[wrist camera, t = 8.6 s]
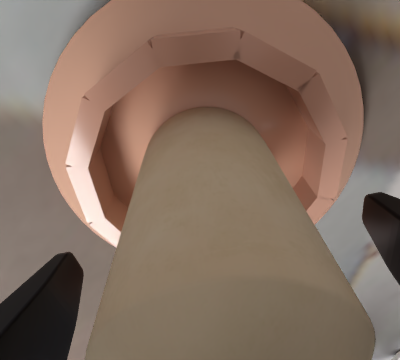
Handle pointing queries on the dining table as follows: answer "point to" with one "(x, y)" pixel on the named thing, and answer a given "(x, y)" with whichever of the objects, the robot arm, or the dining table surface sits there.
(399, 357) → the cup
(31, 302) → the robot arm
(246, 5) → the candle dish
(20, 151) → the dining table surface
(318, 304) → the candle
